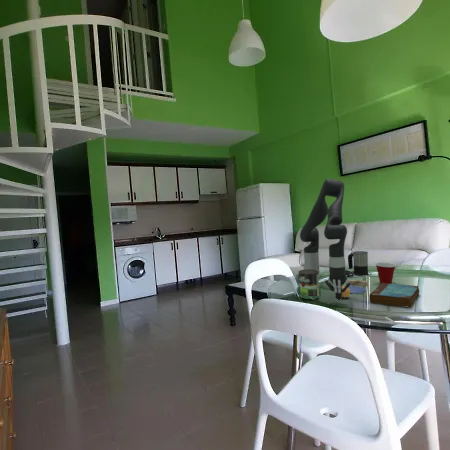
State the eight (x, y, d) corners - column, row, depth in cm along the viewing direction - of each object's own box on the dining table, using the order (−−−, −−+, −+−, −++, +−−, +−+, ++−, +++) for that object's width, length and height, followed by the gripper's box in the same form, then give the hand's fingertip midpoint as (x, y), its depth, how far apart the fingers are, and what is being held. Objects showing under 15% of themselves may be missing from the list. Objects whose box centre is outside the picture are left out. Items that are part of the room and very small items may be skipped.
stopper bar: (348, 284, 192) (348, 280, 191) (349, 283, 193) (349, 279, 193) (366, 286, 186) (366, 282, 186) (367, 285, 187) (366, 281, 187)
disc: (335, 292, 179) (335, 291, 179) (343, 285, 190) (343, 285, 190) (362, 294, 171) (362, 294, 171) (368, 288, 182) (368, 287, 182)
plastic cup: (399, 286, 180) (398, 265, 180) (378, 287, 183) (377, 266, 182) (393, 281, 191) (392, 261, 190) (373, 282, 193) (373, 262, 192)
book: (382, 291, 176) (381, 282, 176) (419, 295, 165) (419, 286, 164) (369, 303, 159) (369, 293, 158) (410, 309, 147) (410, 298, 147)
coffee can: (311, 301, 166) (310, 274, 165) (295, 297, 174) (294, 271, 173) (323, 296, 172) (322, 270, 171) (308, 293, 181) (306, 268, 180)
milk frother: (370, 273, 214) (370, 251, 213) (363, 278, 202) (362, 255, 201) (349, 271, 223) (348, 250, 222) (340, 276, 211) (339, 254, 210)
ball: (336, 298, 168) (336, 287, 168) (340, 295, 173) (339, 284, 172) (348, 300, 164) (348, 288, 164) (352, 296, 169) (351, 285, 169)
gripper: (353, 264, 159) (354, 299, 160) (326, 263, 167) (328, 296, 168) (348, 267, 153) (350, 303, 154) (321, 266, 161) (323, 300, 162)
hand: (338, 299), depth 161 cm, fingers closed
